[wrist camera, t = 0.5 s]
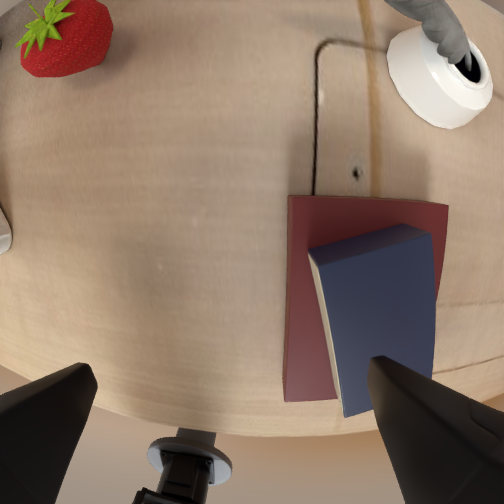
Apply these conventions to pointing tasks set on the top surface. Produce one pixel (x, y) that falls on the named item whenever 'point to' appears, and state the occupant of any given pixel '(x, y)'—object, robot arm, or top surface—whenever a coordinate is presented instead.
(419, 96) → the inkwell
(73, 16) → the strawberry
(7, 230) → the photo printer
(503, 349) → the top surface
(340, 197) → the burgundy book
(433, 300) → the navy book
